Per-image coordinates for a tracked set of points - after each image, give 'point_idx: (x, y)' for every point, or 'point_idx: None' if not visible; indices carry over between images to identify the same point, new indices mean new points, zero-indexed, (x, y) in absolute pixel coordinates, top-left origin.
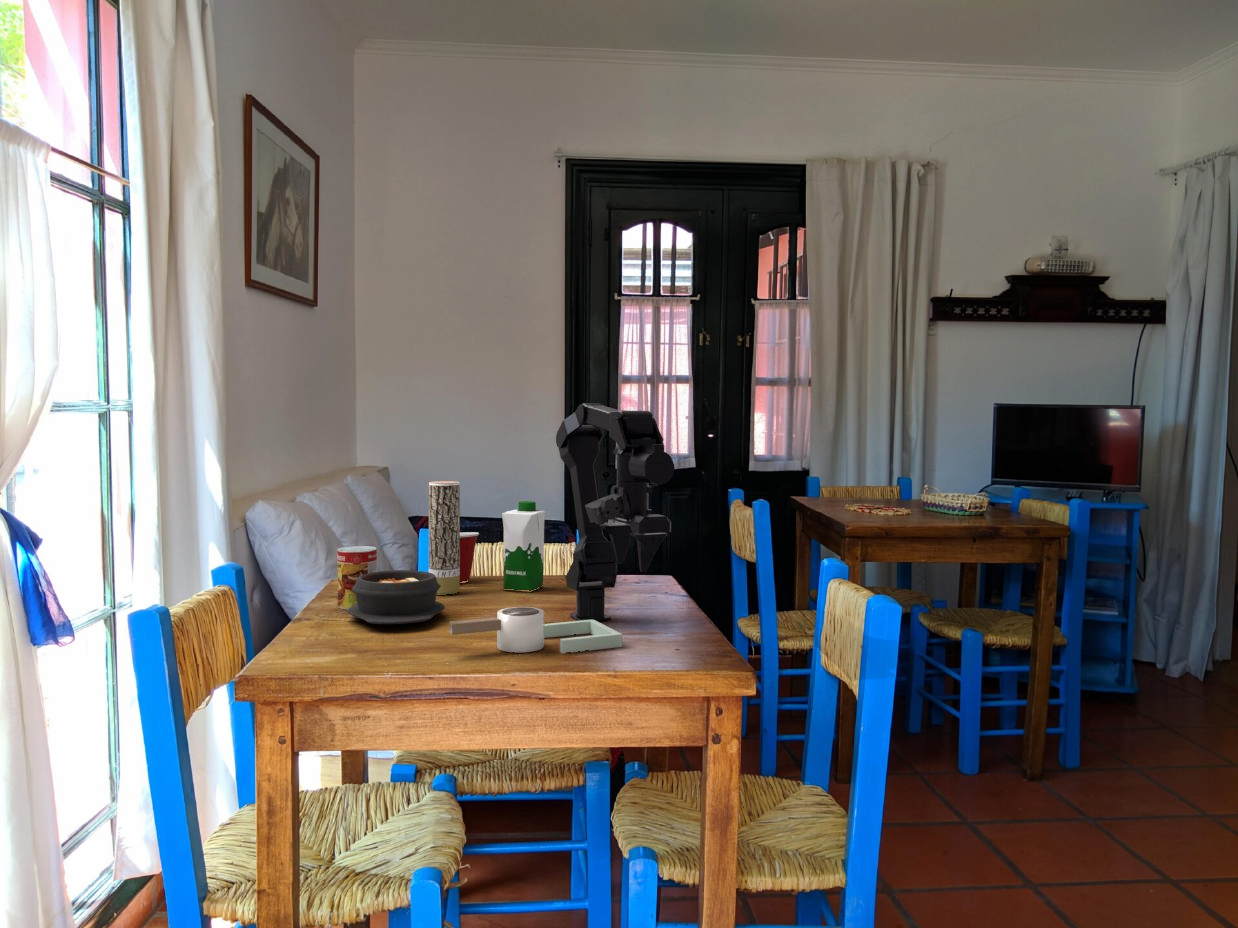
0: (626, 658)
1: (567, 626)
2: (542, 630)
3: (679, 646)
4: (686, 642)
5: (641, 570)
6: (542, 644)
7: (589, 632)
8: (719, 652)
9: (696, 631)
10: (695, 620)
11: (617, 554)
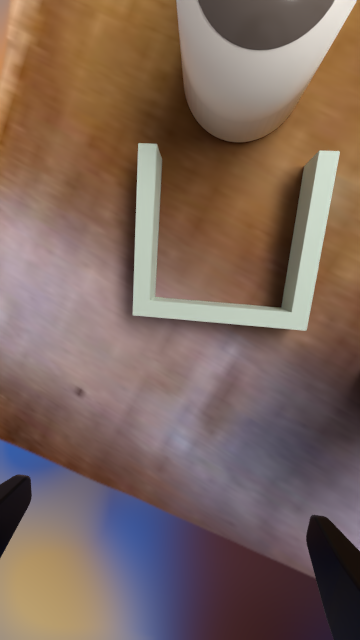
0: (56, 271)
1: (299, 246)
2: (200, 92)
3: (95, 407)
4: (115, 434)
5: (11, 478)
6: (199, 119)
7: (281, 307)
8: (33, 440)
9: (179, 495)
10: (256, 544)
11: (348, 579)
